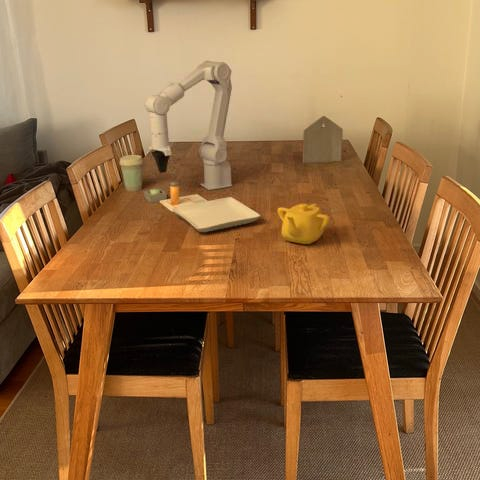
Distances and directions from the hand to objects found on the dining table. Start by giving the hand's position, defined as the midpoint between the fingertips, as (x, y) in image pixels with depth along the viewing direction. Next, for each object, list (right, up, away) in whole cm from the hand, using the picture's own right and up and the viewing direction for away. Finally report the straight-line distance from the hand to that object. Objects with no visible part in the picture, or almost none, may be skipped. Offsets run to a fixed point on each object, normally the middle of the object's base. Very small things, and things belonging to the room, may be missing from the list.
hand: (162, 172), depth 197 cm
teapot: (+44, -23, -34) cm, 60 cm away
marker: (+5, -11, -4) cm, 13 cm away
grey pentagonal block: (+61, +11, +48) cm, 78 cm away
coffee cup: (-12, -5, +14) cm, 19 cm away
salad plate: (+19, -18, -18) cm, 31 cm away
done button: (-3, -10, +3) cm, 11 cm away
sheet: (+8, -11, -2) cm, 14 cm away
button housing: (-3, -9, +3) cm, 10 cm away
